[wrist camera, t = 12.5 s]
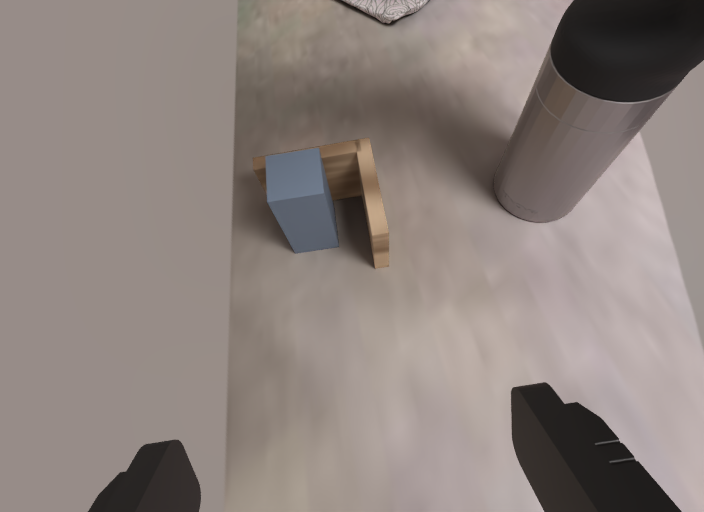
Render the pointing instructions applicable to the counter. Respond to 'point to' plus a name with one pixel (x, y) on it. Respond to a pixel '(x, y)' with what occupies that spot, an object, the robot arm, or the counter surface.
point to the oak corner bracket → (351, 187)
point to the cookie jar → (387, 8)
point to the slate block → (302, 199)
